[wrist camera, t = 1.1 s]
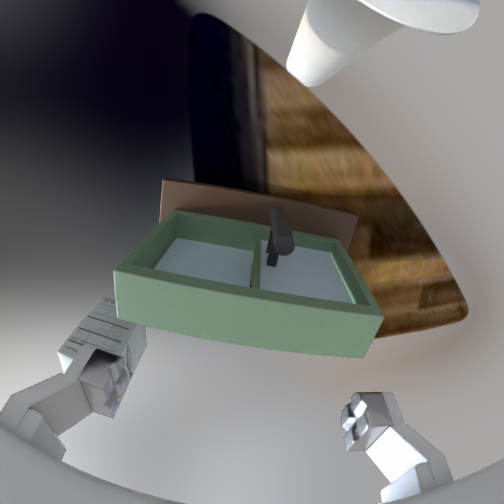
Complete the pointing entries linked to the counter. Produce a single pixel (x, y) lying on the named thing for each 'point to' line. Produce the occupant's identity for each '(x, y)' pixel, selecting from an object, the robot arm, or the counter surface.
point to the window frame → (242, 274)
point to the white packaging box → (106, 336)
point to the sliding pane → (294, 265)
